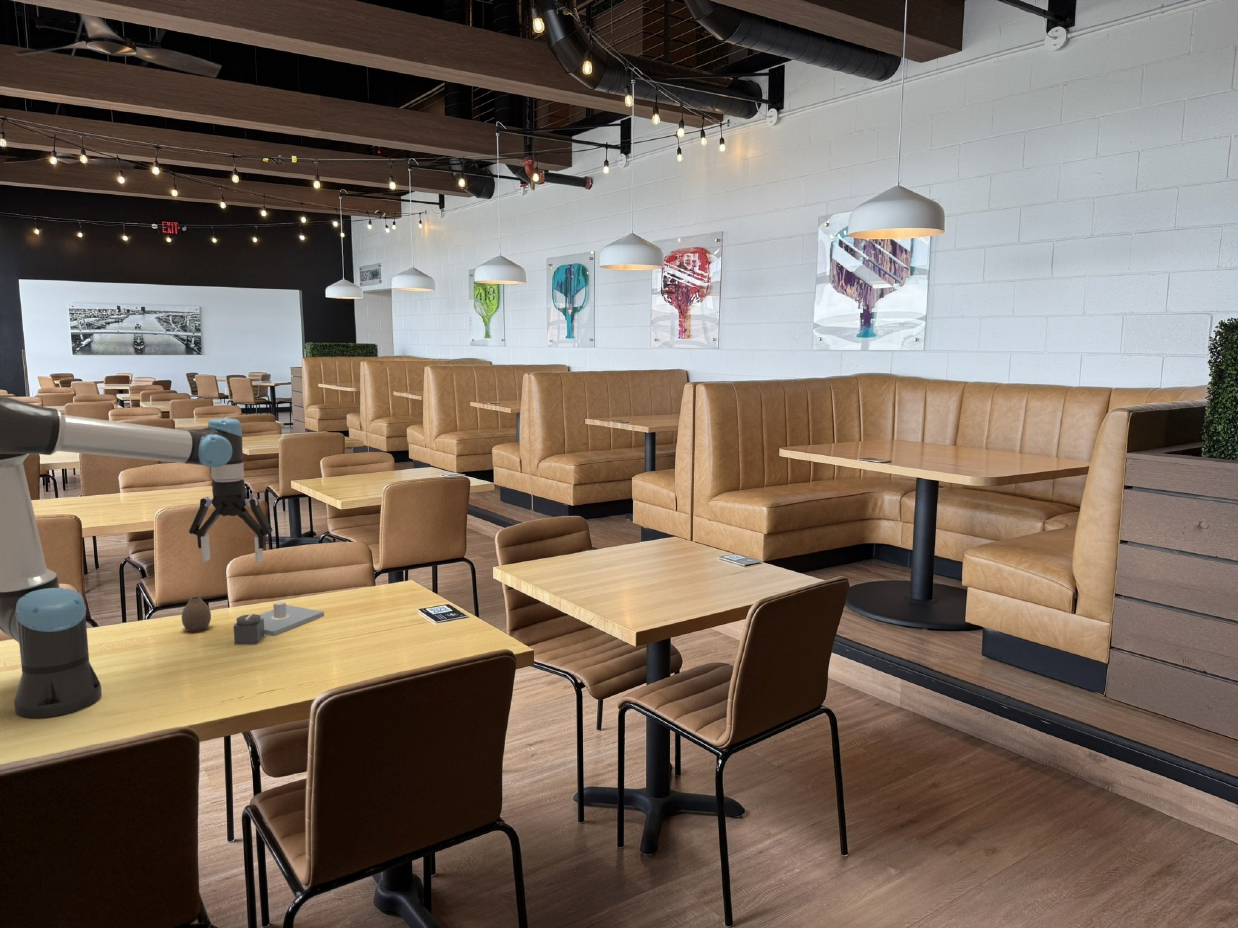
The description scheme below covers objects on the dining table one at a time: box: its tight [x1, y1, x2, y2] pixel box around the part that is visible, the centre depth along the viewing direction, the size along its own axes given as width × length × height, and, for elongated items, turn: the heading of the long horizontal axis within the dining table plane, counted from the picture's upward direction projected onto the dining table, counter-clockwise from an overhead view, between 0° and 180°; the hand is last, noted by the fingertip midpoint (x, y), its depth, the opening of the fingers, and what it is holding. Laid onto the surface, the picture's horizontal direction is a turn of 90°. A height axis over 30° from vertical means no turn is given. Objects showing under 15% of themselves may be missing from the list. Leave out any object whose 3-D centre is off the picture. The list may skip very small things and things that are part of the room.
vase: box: [181, 596, 212, 633], centre depth 217 cm, size 7×7×9 cm
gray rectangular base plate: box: [233, 601, 325, 637], centre depth 224 cm, size 18×14×5 cm
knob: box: [233, 613, 266, 646], centre depth 209 cm, size 6×6×6 cm
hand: (232, 560), depth 211 cm, fingers open, 13 cm apart
